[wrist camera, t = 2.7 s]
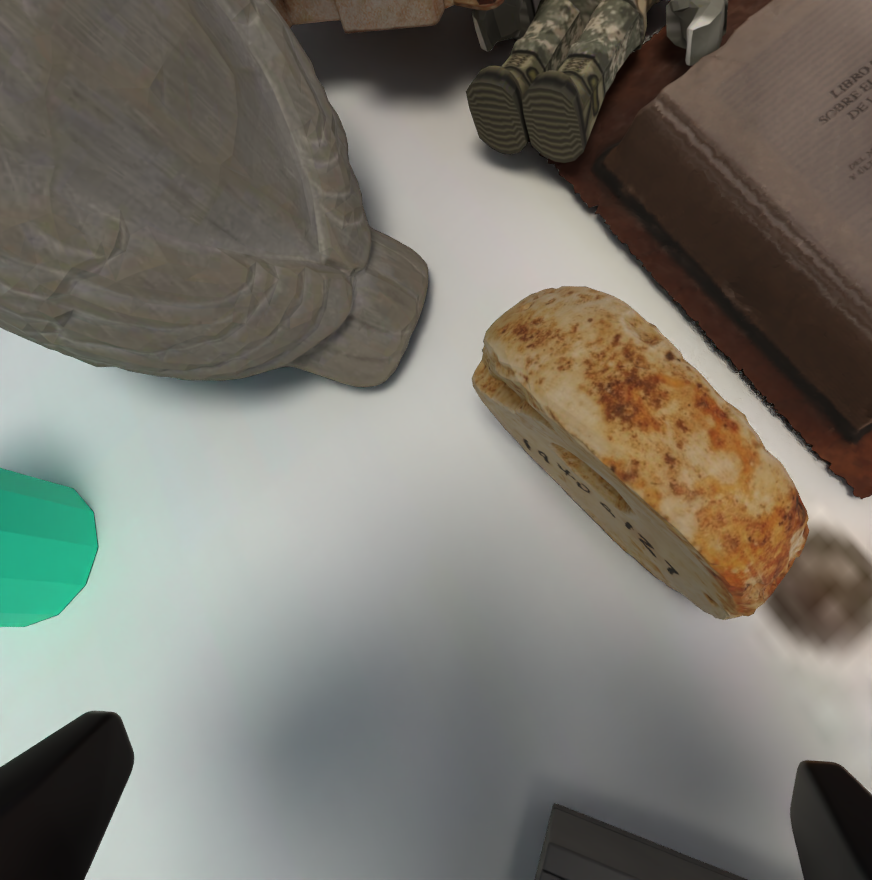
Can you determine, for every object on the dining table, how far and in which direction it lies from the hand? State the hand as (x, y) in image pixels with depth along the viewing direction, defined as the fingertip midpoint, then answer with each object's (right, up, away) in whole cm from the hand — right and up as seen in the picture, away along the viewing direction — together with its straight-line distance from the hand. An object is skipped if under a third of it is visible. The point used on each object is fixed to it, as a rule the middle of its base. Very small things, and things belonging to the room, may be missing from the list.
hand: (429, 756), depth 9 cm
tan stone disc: (+7, +3, +15) cm, 16 cm away
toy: (+3, +16, +16) cm, 23 cm away
